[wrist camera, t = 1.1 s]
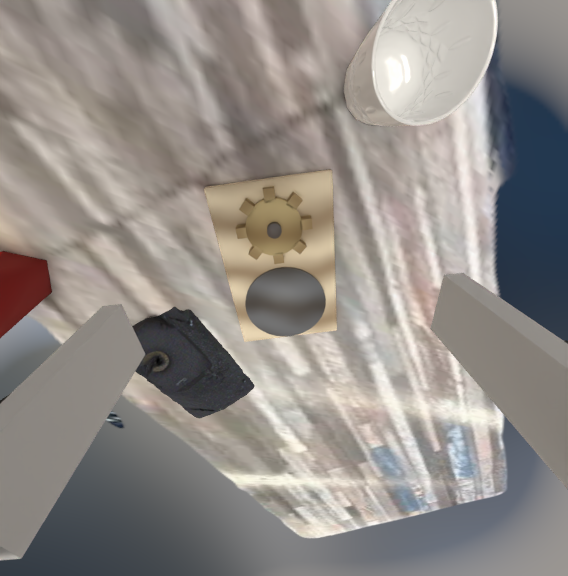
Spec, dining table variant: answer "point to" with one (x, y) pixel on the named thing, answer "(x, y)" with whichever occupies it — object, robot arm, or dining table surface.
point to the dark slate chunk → (189, 363)
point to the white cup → (421, 61)
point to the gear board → (305, 260)
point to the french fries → (20, 287)
